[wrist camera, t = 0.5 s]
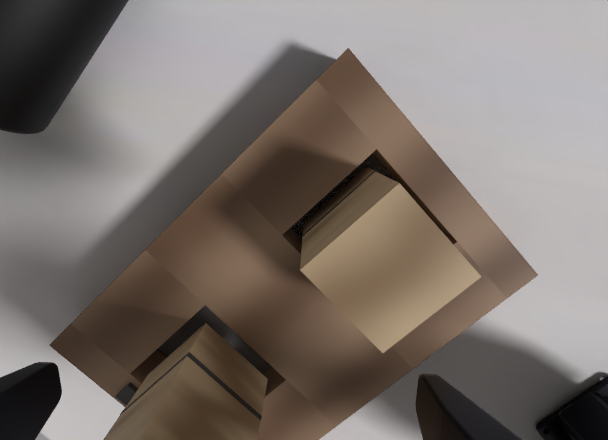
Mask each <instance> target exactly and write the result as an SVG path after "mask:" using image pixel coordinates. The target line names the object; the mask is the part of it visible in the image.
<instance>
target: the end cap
mask: <svg viewBox="0 0 608 440" xmlns="http://www.w3.org/2000/svg"><path fill="white" fill-rule="evenodd" d="M127 2H128V0H0V130H3V131H8V132H13V133H20V134H34V133H39V132H41V131H44V130H45V128H46V127H47V126H48V125H49V123H50V122H51V120H52V118H53V117H54V115H55V114H56V112H57V111H58V109H59V108H60V106H61V104H62V103H63V101H64V100H65V98H66V97H67V95H68V94H69V92H70V90H71V89H72V87H73V86H74V84H75V83H76V81H77V80H78V78H79V76H80V75H81V73H82V72H83V70H84V69H85V67H86V66H87V64H88V63H89V61H90V59H91V58H92V56H93V55H94V53H95V52H96V50H97V49H98V47H99V45H100V44H101V42H102V41H103V39H104V38H105V36H106V35H107V33H108V31H109V30H110V28H111V27H112V25H113V24H114V22H115V21H116V19H117V17H118V16H119V14H120V13H121V11H122V10H123V8H124V7H125V5H126V3H127Z"/></svg>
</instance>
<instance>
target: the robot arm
mask: <svg viewBox="0 0 608 440" xmlns="http://www.w3.org/2000/svg"><path fill="white" fill-rule="evenodd" d="M61 394H62V389H61V383H60V377H59V371H58V366H57V365H56V364H55V363H50V362H38V363H34V364H32V365H29V366H27V367H25V368H22V369H20V370H17V371H15V372H13V373H10V374H8V375H6V376H3V377H1V378H0V440H35V439H36V437H37V436H38V434H39V432H40V431H41V429H42V428H43V426H44V425H45V423H46V421H47V420H48V418H49V417H50V415H51V413H52V412H53V410H54V409H55V407H56V406H57V404H58V402H59V400H60V398H61ZM416 412H417V417H418V421H419V425H420V429H421V433H422V437H423V440H522V439H521V438H519V437H518V436H517V435H515V434H514V433H513V432H511V431H510V430H509V429H507V428H506V427H505V426H504V425H502V424H501V423H500V422H498V421H497V420H496V419H494V418H493V417H492V416H490V415H489V414H488V413H487V412H485V411H484V410H483V409H481V408H480V407H479V406H477V405H476V404H475V403H474V402H472V401H471V400H470V399H468V398H467V397H466V396H464V395H463V394H462V393H460V392H459V391H458V390H457V389H455V388H454V387H453V386H451V385H450V384H449V383H447V382H446V381H445V380H444V379H442V378H441V377H440V376H438V375H435V374H421V375H420V376H419V379H418V387H417V396H416ZM536 430H537V431H538V433H539V434H540V435H541V436H542V437H543V438H544V439H545V440H608V377H607V378H605V379H604V380H602V381H601V382H599V383H598V384H596V385H595V386H593V387H592V388H590V389H589V390H587V391H586V392H584V393H583V394H581V395H580V396H578V397H577V398H575V399H574V400H572V401H570V402H569V403H567V404H566V405H564V406H563V407H561V408H560V409H558V410H557V411H555V412H554V413H552V414H551V415H549V416H548V417H546V418H545V419H543V420H542V421H540V422H539V423H538V424H537V425H536Z"/></svg>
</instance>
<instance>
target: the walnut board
mask: <svg viewBox="0 0 608 440" xmlns="http://www.w3.org/2000/svg"><path fill="white" fill-rule="evenodd" d="M371 154H373V155H374V156H375V157H376V158H377V159H378V161H379V162H380V163H381V164H382V165H383V166H384V167H385V169H386V170H387V171H388V172H389V173H390V174H391V175H392V177H393V178H394V179H395V180H396V181H397V182H396V181H394V180H392V179H390V178H388V177H386V176H384V175H382V174H380V173H378V172H376V171H375V170H372V169H370V168H368V167H365V168H364V169H363V170H361V171H360V172H359V173H358V174H357V175H356V176H355V177H354V178H353V179H352V180H350V181H349V182H348V183H347V184H346V185H345V186H344V187H343V188H342V189H340V190H339V191H338V192H337V193H336V194H335V195H334V196H333V197H332V198H331V199H329V200H328V201H327V202H326V203H325V204H324V205H323V206H322V207H321V208H319V209H318V210H317V211H316V212H315V213H314V214H313V215H312V216H311V217H310V218H308V219H307V220H306V221H305V222H304V223H303V235H302V239H301V238H300V237H299V235H298V234H297V233H296V232H295V231H294V230H293V229H292V228H291V227H292V226H293V225H294V224H295V223H296V222H297V221H298V220H299V219H300V218H302V217H303V216H304V215H305V214H306V213H307V212H308V211H309V210H310V209H311V208H313V207H314V206H315V205H316V204H317V203H318V202H319V201H320V200H321V199H322V198H324V197H325V196H326V195H327V194H328V193H329V192H330V191H331V190H332V189H333V188H335V187H336V186H337V185H338V184H339V183H340V182H341V181H342V180H343V179H344V178H345V177H347V176H348V175H349V174H350V173H351V172H352V171H353V170H354V169H355V168H356V167H358V166H359V165H360V164H361V163H362V162H363V161H364V160H365V159H366V158H367V157H369V156H370V155H371ZM536 276H538V274H537V273H536V272H535V271H534V270H533V268H532V267H531V266H530V265H529V264H528V262H527V261H526V260H525V259H524V258H523V256H522V255H521V254H520V253H519V252H518V250H517V249H516V248H515V247H514V246H513V244H512V243H511V242H510V241H509V240H508V238H507V237H506V236H505V235H504V234H503V232H502V231H501V230H500V229H499V228H498V226H497V225H496V224H495V223H494V222H493V220H492V219H491V218H490V217H489V216H488V215H487V213H486V212H485V211H484V210H483V209H482V207H481V206H480V205H479V204H478V203H477V201H476V200H475V199H474V198H473V197H472V195H471V194H470V193H469V192H468V191H467V189H466V188H465V187H464V186H463V185H462V183H461V182H460V181H459V180H458V179H457V177H456V176H455V175H454V174H453V173H452V171H451V170H450V169H449V168H448V167H447V165H446V164H445V163H444V162H443V161H442V159H441V158H440V157H439V156H438V155H437V153H436V152H435V151H434V150H433V149H432V148H431V146H430V145H429V144H428V143H427V142H426V140H425V139H424V138H423V137H422V136H421V134H420V133H419V132H418V131H417V130H416V128H415V127H414V126H413V125H412V124H411V122H410V121H409V120H408V119H407V118H406V116H405V115H404V114H403V113H402V112H401V110H400V109H399V108H398V107H397V106H396V104H395V103H394V102H393V101H392V100H391V98H390V97H389V96H388V95H387V94H386V92H385V91H384V90H383V89H382V88H381V86H380V85H379V84H378V83H377V82H376V81H375V79H374V78H373V77H372V76H371V75H370V73H369V72H368V71H367V70H366V69H365V67H364V66H363V65H362V64H361V63H360V61H359V60H358V59H357V58H356V57H355V55H354V54H353V53H352V52H351V51H350V49H349V48H348V49H347V50H346V51H345V52H344V53H343V54H342V55H341V56H340V57H339V58H338V59H337V60H336V61H335V62H334V63H333V64H332V65H331V66H330V67H329V68H328V69H327V70H326V71H325V72H324V73H323V74H322V75H321V76H320V77H319V78H318V79H317V80H316V81H315V82H314V83H313V84H312V85H311V86H309V87H308V88H307V89H306V90H305V91H304V92H303V93H302V94H301V95H300V96H299V97H298V98H297V99H296V100H295V101H294V102H293V103H292V104H291V105H290V106H289V107H288V108H287V109H286V110H285V111H284V112H283V113H282V114H281V115H280V116H279V117H278V118H277V119H276V120H275V121H274V122H273V123H272V124H271V125H270V126H269V127H268V128H267V129H266V130H265V131H264V132H263V133H262V134H261V135H260V136H259V137H258V138H257V139H256V140H255V141H254V142H253V143H252V144H251V145H250V146H249V147H248V148H247V149H246V150H245V151H244V152H243V153H242V154H241V155H240V156H239V157H238V158H237V159H236V160H235V161H234V162H233V163H232V164H231V165H230V166H229V167H228V168H227V169H226V170H225V171H224V172H223V173H222V174H221V175H220V176H219V177H218V178H217V179H216V180H215V181H214V182H213V183H212V184H211V185H210V186H209V187H208V188H207V189H206V190H205V191H204V192H203V193H202V194H201V195H200V196H199V197H198V198H197V199H196V200H195V201H194V202H193V203H192V204H191V205H190V206H189V207H188V208H187V209H186V210H185V211H184V212H183V213H182V214H181V215H180V216H179V217H178V218H177V219H176V220H175V221H174V222H173V223H172V224H171V225H170V226H169V227H168V228H167V229H166V230H165V231H164V232H163V233H162V234H161V235H160V236H159V237H158V238H157V239H156V240H155V241H154V242H153V243H152V244H151V245H150V246H149V247H148V248H147V249H146V250H145V251H144V252H143V253H142V254H141V255H140V256H139V257H138V258H137V259H135V260H134V261H133V262H132V263H131V264H130V265H129V266H128V267H127V268H126V269H125V270H124V271H123V272H122V273H121V274H120V275H119V276H118V277H117V278H116V279H115V280H114V281H113V282H112V283H111V284H110V285H109V286H108V287H107V288H106V289H105V290H104V291H103V292H102V293H101V294H100V295H99V296H98V297H97V298H96V299H95V300H94V301H93V302H92V303H91V304H90V305H89V306H88V307H87V308H86V309H85V310H84V311H83V312H82V313H81V314H80V315H79V316H78V317H77V318H76V319H75V320H74V321H73V322H72V323H71V324H70V325H69V326H68V327H67V328H66V329H65V330H64V331H63V332H62V333H61V334H60V335H59V336H58V337H57V338H56V339H55V340H54V341H53V342H52V343H51V344H50V346H51V347H52V348H53V349H55V350H56V351H57V352H58V353H59V354H61V355H62V356H63V357H64V358H66V359H67V360H68V361H69V362H70V363H72V364H73V365H74V366H75V367H77V368H78V369H79V370H80V371H81V372H83V373H84V374H85V375H86V376H88V377H89V378H90V379H91V380H92V381H94V382H95V383H96V384H97V385H99V386H100V387H101V388H102V389H104V390H105V391H106V392H107V393H108V394H110V395H111V396H112V397H113V398H115V399H116V400H117V401H118V402H119V403H121V404H122V405H123V406H124V407H126V406H127V405H128V403H129V402H130V400H131V399H132V397H133V396H134V394H135V393H136V392H137V390H138V389H139V387H140V386H141V384H142V383H143V381H144V380H145V378H146V377H147V375H148V374H149V373H150V372H152V371H153V370H154V369H155V368H156V367H157V366H158V365H159V364H160V363H162V362H163V361H164V360H165V359H166V357H165V356H164V355H163V354H162V353H161V352H159V351H158V350H157V349H158V348H159V347H160V346H161V345H162V344H163V343H164V342H165V341H166V340H167V339H169V338H170V337H171V336H172V335H173V334H174V333H175V332H176V331H177V330H178V329H180V328H181V327H182V326H183V325H184V324H185V323H186V322H187V321H188V320H189V319H191V318H192V317H193V316H194V315H195V314H196V313H197V312H198V311H199V310H200V309H202V308H203V307H204V306H205V305H206V306H207V307H208V308H209V309H210V310H211V311H212V312H213V313H214V314H215V315H216V316H217V317H219V318H220V319H221V320H222V321H223V322H224V323H225V324H226V325H227V326H228V327H229V328H230V329H232V330H233V331H234V332H235V333H236V334H237V335H238V336H239V337H240V338H241V339H242V340H243V341H245V342H246V343H247V344H248V345H249V346H250V347H251V348H252V349H253V350H254V351H255V352H256V353H258V354H259V355H260V356H261V357H262V358H263V359H264V360H265V361H266V362H267V363H268V364H269V365H271V366H270V367H268V368H267V369H266V370H265V371H263V372H262V373H261V374H263V375H264V376H265V377H266V378H267V379H268V381H267V386H266V392H265V398H264V403H263V409H262V415H261V416H262V418H261V421H260V426H259V432H258V438H257V440H319V439H320V438H321V437H323V436H324V435H325V434H327V433H328V432H329V431H331V430H332V429H333V428H335V427H336V426H337V425H339V424H340V423H341V422H343V421H344V420H345V419H347V418H348V417H349V416H351V415H352V414H353V413H355V412H356V411H357V410H359V409H360V408H361V407H363V406H364V405H365V404H367V403H368V402H369V401H371V400H372V399H373V398H375V397H376V396H377V395H379V394H380V393H381V392H383V391H384V390H385V389H387V388H388V387H389V386H391V385H392V384H393V383H395V382H396V381H397V380H399V379H400V378H401V377H403V376H404V375H405V374H407V373H408V372H409V371H411V370H412V369H413V368H415V367H416V366H417V365H419V364H420V363H422V362H423V361H424V360H426V359H427V358H428V357H430V356H431V355H432V354H434V353H435V352H436V351H438V350H439V349H440V348H442V347H443V346H444V345H446V344H447V343H448V342H450V341H451V340H452V339H454V338H455V337H456V336H458V335H459V334H460V333H462V332H463V331H464V330H466V329H467V328H468V327H470V326H471V325H472V324H474V323H475V322H476V321H478V320H479V319H480V318H482V317H483V316H484V315H486V314H487V313H488V312H490V311H491V310H492V309H494V308H495V307H496V306H498V305H499V304H500V303H502V302H503V301H504V300H506V299H507V298H508V297H510V296H511V295H512V294H514V293H515V292H516V291H518V290H519V289H520V288H522V287H523V286H524V285H526V284H527V283H528V282H530V281H531V280H532V279H534V278H535V277H536Z"/></svg>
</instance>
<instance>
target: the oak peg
mask: <svg viewBox="0 0 608 440" xmlns="http://www.w3.org/2000/svg"><path fill="white" fill-rule="evenodd" d="M267 381H268V379H267V378H266V377H265V376H264V375H263V374H261V373H260V372H259V371H258V370H257V369H256V368H255V367H254V366H253V365H252V364H251V363H249V362H248V361H247V360H246V359H245V358H244V357H243V356H242V355H241V354H240V353H238V352H237V351H236V350H235V349H234V348H233V347H232V346H231V345H230V344H229V343H228V342H226V341H225V340H224V339H223V338H222V337H221V336H220V335H219V334H218V333H217V332H215V331H214V330H213V329H212V328H211V327H210V326H209V325H208V324H207V323H205V324H204V325H203V326H202V327H201V328H199V329H198V330H197V331H196V332H195V333H194V334H193V335H192V336H191V337H189V338H188V339H187V340H186V341H185V342H184V343H183V344H182V345H180V346H179V347H178V348H177V349H176V350H175V351H174V352H173V353H172V354H170V355H169V356H168V357H167V358H166V359H165V360H164V361H163V362H162V363H160V364H159V365H158V366H157V367H156V368H155V369H154V370H153V371H152V372H150V373H149V374H148V375H147V377H146V378H145V380H144V381H143V383H142V384H141V386H140V387H139V389H138V390H137V392H136V393H135V394H134V396H133V397H132V399H131V400H130V402H129V403H128V405H127V406H126V408H125V409H124V410H123V411H122V413H121V414H120V416H119V418H118V419H117V421H116V422H115V424H114V425H113V427H112V428H111V429H110V431H109V432H108V434H107V435H106V437H105V438H104V440H257V438H258V432H259V426H260V421H261V418H262V416H261V415H262V409H263V403H264V398H265V392H266V386H267Z"/></svg>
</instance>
